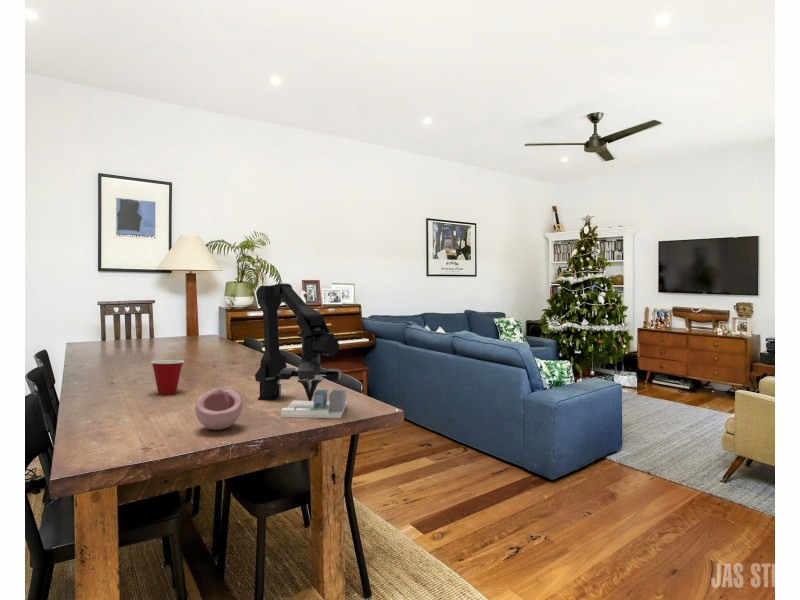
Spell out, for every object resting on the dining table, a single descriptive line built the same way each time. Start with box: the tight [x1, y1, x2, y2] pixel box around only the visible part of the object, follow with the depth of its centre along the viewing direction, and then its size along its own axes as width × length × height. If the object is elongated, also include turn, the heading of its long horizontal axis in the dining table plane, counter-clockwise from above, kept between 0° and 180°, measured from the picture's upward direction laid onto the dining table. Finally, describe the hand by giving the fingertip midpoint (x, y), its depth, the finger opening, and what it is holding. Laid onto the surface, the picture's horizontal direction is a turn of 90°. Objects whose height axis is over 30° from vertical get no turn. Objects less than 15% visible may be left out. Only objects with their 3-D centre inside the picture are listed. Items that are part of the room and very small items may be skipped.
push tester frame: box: [280, 388, 348, 419], centre depth 145 cm, size 18×16×6 cm
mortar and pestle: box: [194, 387, 243, 431], centre depth 125 cm, size 12×12×11 cm
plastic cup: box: [150, 359, 185, 396], centre depth 164 cm, size 11×11×12 cm
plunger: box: [313, 388, 328, 409], centre depth 143 cm, size 3×12×5 cm, turn 0°
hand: (310, 400), depth 145 cm, fingers closed
